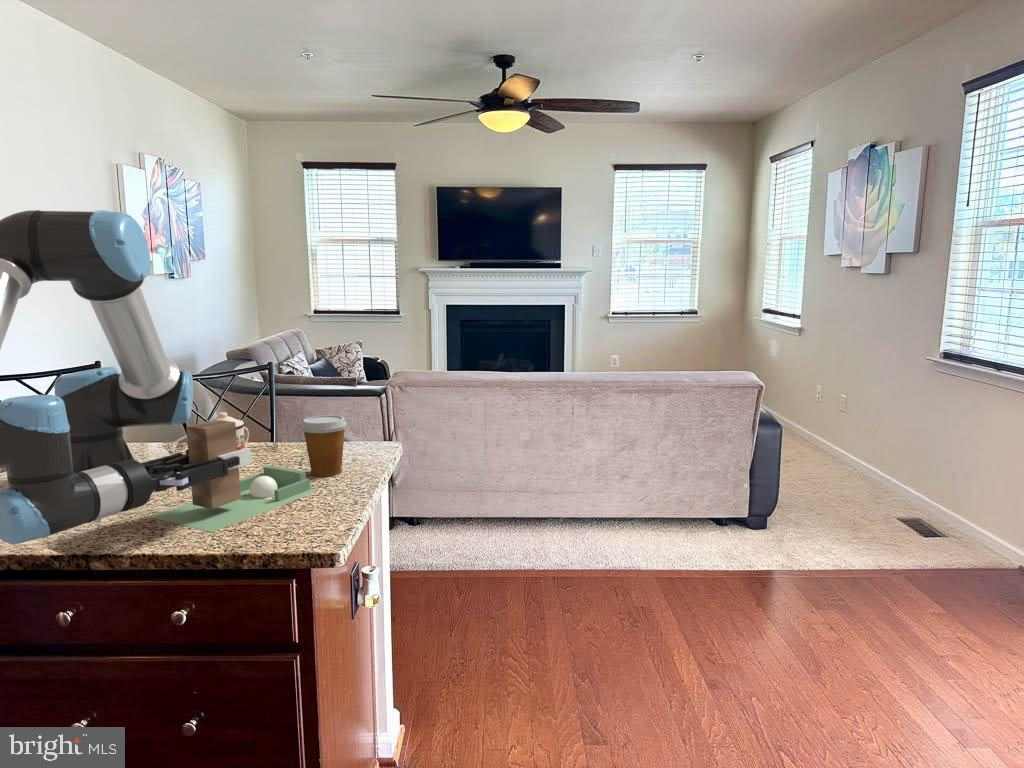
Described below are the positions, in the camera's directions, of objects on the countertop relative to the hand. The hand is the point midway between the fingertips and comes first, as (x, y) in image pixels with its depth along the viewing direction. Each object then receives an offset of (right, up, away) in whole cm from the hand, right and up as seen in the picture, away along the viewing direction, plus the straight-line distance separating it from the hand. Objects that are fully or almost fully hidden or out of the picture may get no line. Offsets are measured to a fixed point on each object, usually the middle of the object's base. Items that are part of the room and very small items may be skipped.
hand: (238, 453), depth 123 cm
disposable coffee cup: (+9, -7, +25) cm, 28 cm away
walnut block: (-2, -8, -3) cm, 9 cm away
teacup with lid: (-17, -6, +37) cm, 40 cm away
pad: (0, -11, +1) cm, 11 cm away
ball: (+2, -7, +6) cm, 10 cm away
